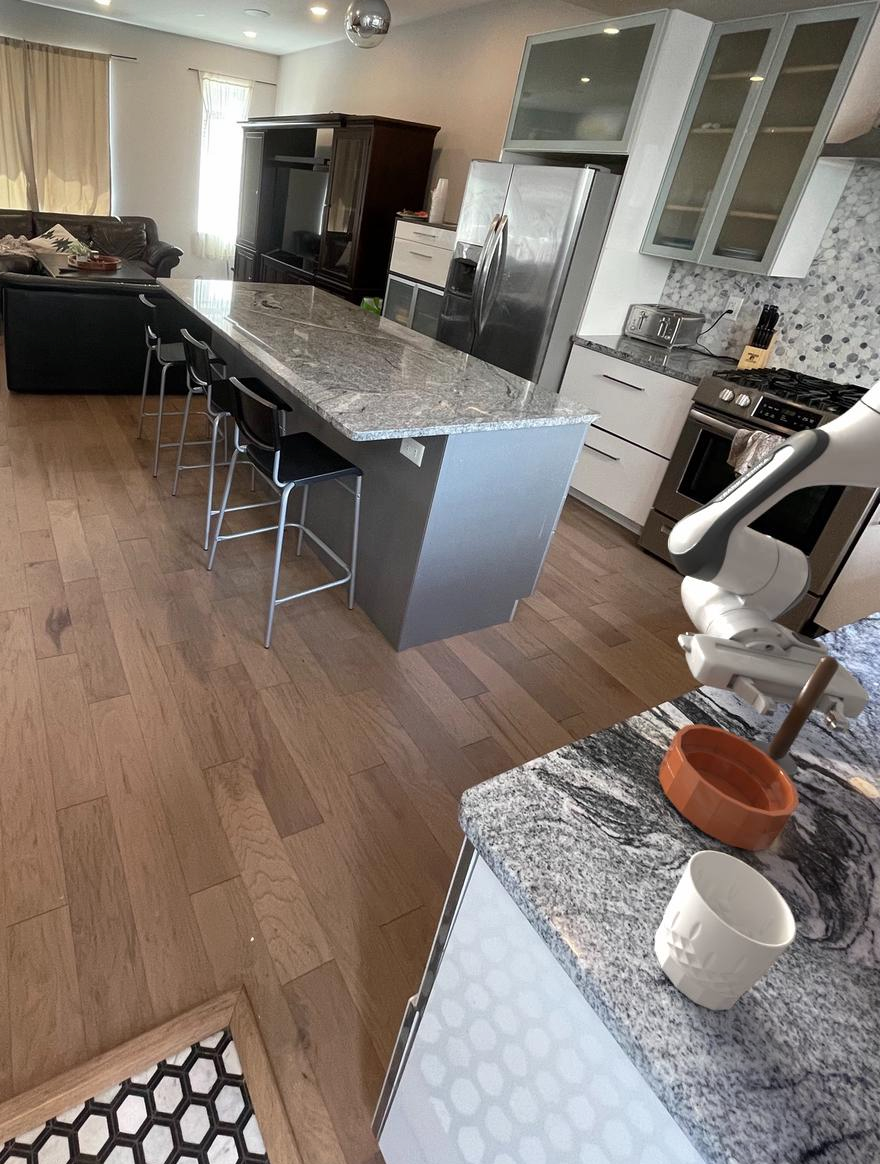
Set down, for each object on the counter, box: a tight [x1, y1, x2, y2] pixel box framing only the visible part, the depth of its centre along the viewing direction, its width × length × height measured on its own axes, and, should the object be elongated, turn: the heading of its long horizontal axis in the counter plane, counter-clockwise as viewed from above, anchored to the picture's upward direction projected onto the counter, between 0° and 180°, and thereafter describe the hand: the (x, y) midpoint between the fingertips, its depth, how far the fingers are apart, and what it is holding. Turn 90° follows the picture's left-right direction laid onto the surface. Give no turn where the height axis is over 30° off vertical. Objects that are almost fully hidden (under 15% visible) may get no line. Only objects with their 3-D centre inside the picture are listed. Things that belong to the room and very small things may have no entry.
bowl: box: [658, 723, 800, 852], centre depth 72 cm, size 12×12×6 cm
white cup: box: [654, 850, 797, 1011], centre depth 54 cm, size 8×8×10 cm
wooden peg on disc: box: [750, 655, 839, 781], centre depth 77 cm, size 5×5×18 cm
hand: (805, 719), depth 76 cm, fingers open, 7 cm apart
